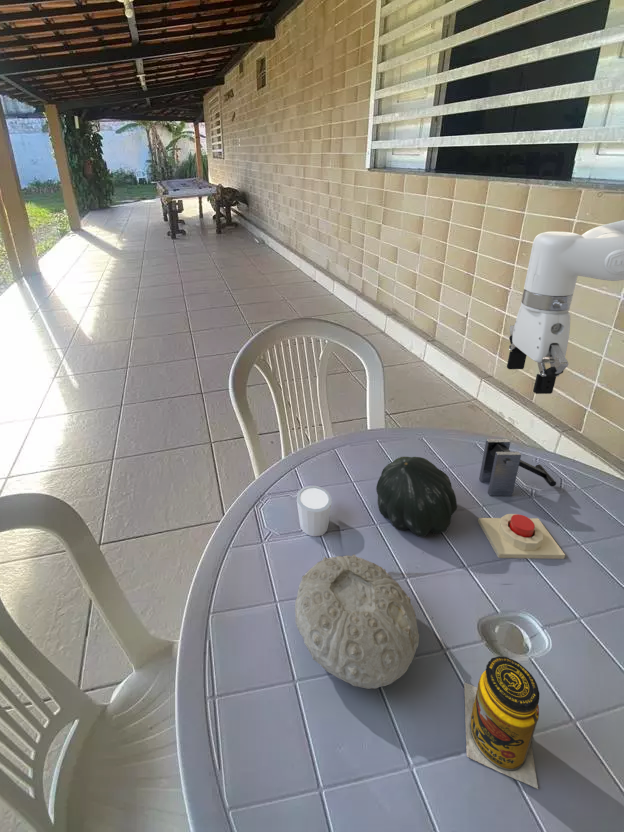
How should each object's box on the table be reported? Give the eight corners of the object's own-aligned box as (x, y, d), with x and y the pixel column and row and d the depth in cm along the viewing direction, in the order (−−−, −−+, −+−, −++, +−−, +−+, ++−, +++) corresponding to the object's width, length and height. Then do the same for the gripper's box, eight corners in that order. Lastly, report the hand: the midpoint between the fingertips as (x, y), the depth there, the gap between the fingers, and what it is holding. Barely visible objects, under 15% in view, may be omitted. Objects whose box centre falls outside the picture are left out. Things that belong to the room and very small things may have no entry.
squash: (467, 481, 86) (419, 428, 85) (476, 542, 73) (419, 481, 73) (408, 503, 94) (363, 454, 93) (406, 562, 81) (354, 507, 80)
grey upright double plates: (512, 477, 94) (521, 432, 89) (536, 508, 85) (547, 461, 81) (456, 477, 95) (463, 433, 90) (474, 508, 86) (482, 461, 82)
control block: (536, 526, 81) (540, 510, 80) (562, 564, 74) (567, 547, 72) (476, 526, 82) (479, 510, 81) (497, 563, 75) (501, 546, 73)
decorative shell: (404, 588, 71) (409, 545, 68) (427, 717, 55) (436, 669, 52) (298, 575, 75) (297, 533, 71) (291, 693, 59) (289, 646, 55)
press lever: (536, 472, 90) (544, 464, 90) (551, 489, 86) (559, 481, 85) (486, 447, 89) (494, 439, 88) (498, 463, 84) (506, 455, 84)
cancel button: (525, 521, 78) (527, 514, 78) (537, 537, 75) (539, 530, 74) (505, 521, 79) (507, 514, 78) (516, 537, 75) (517, 530, 75)
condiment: (466, 757, 51) (480, 697, 47) (463, 683, 59) (476, 625, 54) (537, 790, 48) (560, 729, 44) (526, 707, 56) (544, 648, 51)
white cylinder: (332, 540, 81) (332, 513, 79) (296, 537, 82) (295, 510, 80) (330, 512, 87) (331, 486, 85) (297, 510, 89) (296, 484, 86)
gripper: (600, 315, 70) (576, 403, 76) (539, 285, 86) (523, 360, 92) (553, 316, 71) (532, 404, 77) (501, 286, 87) (488, 360, 93)
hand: (527, 380), depth 85 cm, fingers open, 9 cm apart
